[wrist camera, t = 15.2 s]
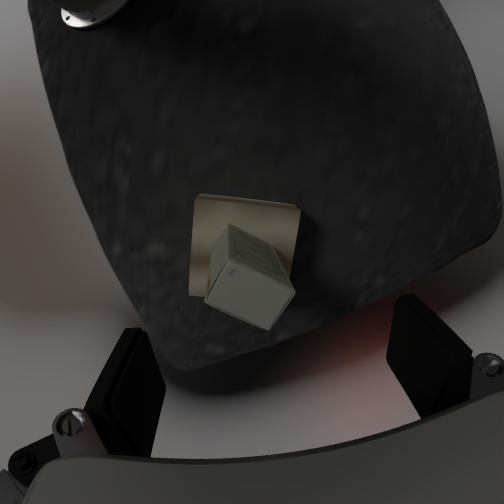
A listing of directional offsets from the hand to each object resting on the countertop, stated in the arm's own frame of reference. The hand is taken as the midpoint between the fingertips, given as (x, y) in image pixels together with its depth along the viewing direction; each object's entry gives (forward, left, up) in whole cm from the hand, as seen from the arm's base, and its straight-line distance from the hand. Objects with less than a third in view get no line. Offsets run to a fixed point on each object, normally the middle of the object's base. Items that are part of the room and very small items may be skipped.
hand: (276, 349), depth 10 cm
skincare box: (+4, -1, -24) cm, 25 cm away
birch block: (+5, -2, -29) cm, 30 cm away
